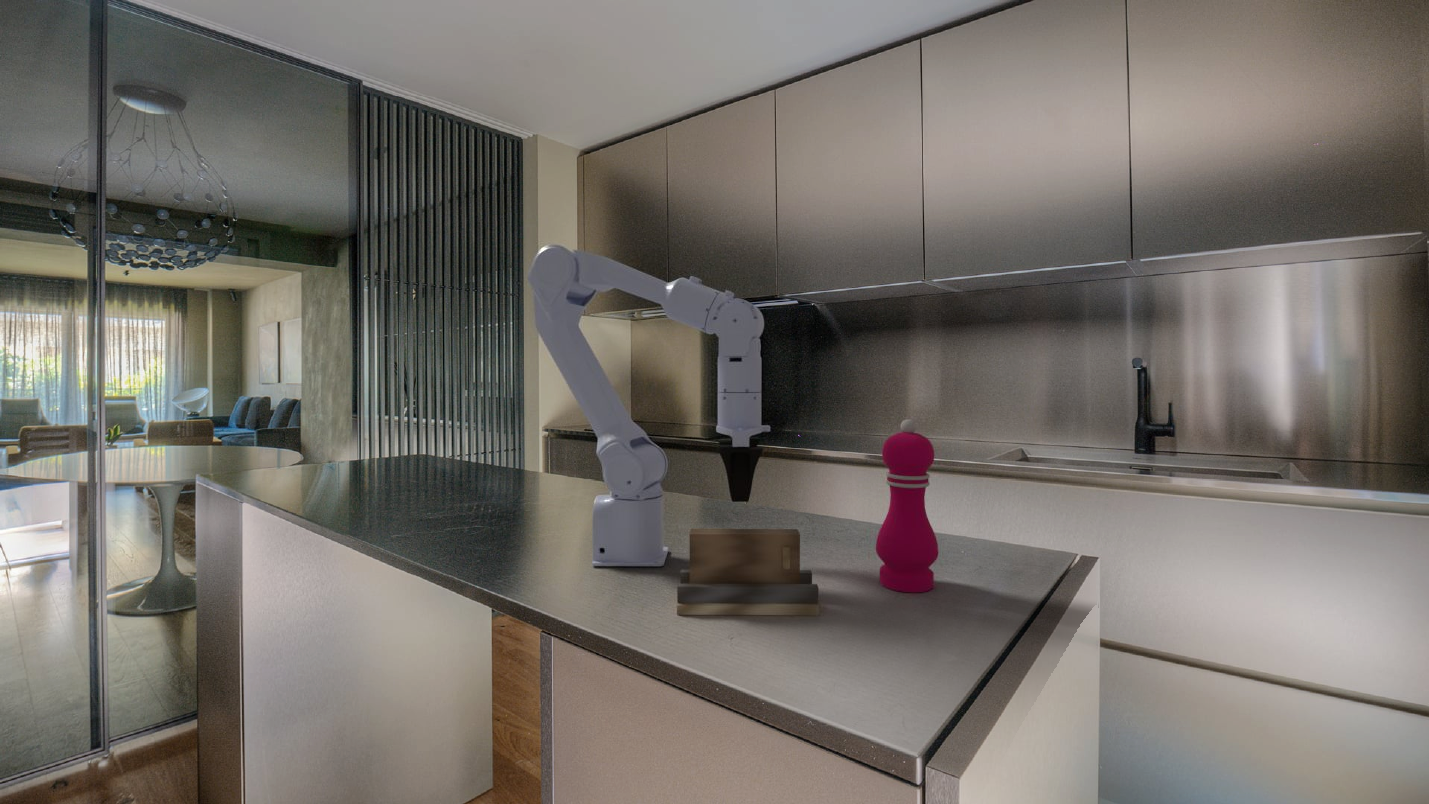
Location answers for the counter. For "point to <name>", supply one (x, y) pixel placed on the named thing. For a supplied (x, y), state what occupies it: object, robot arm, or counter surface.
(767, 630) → the counter surface
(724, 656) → the counter surface
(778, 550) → the door panel
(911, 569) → the pepper mill
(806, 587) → the track board
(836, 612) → the counter surface
